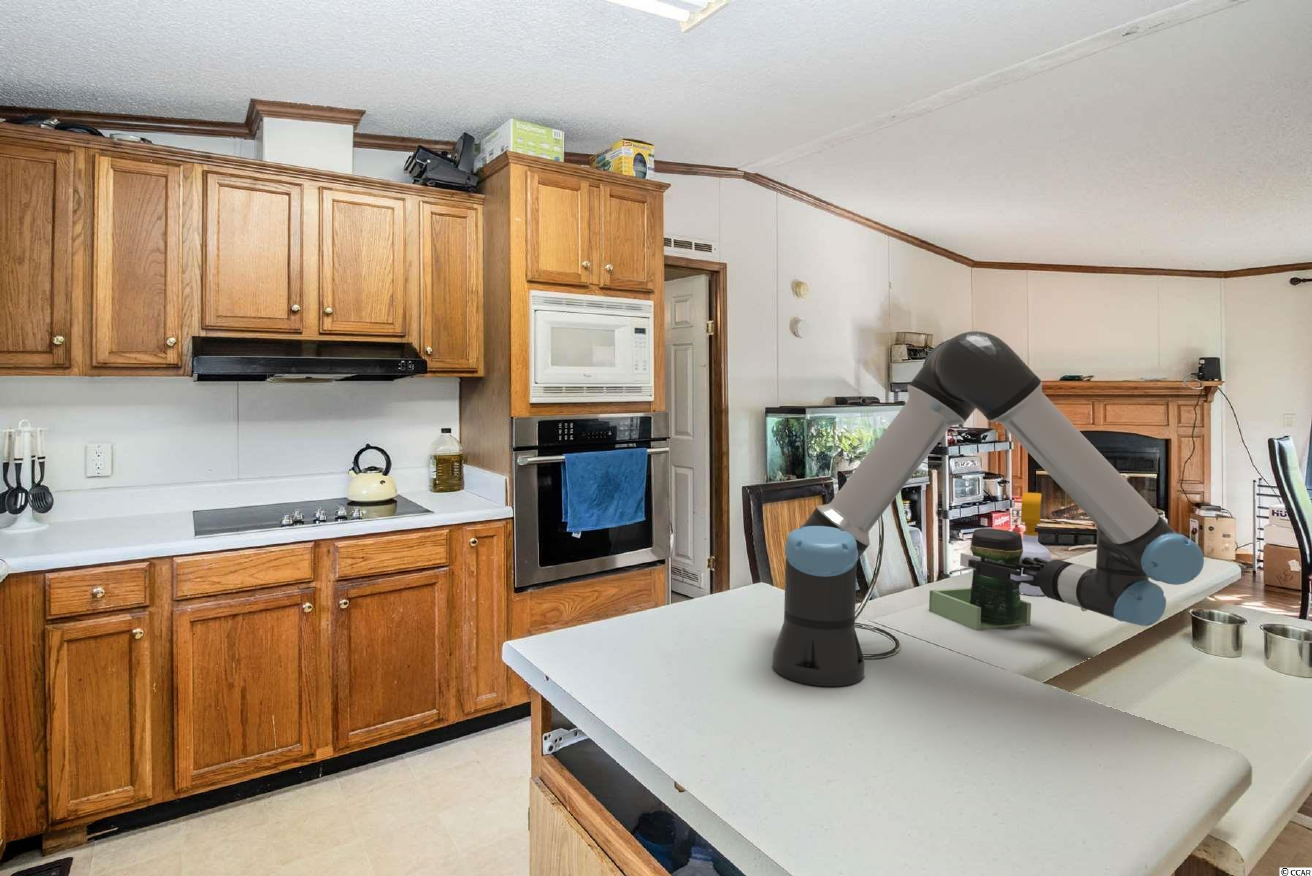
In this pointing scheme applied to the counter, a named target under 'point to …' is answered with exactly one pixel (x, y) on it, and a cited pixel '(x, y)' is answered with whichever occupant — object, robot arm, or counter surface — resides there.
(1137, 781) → the counter surface
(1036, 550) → the soap bottle
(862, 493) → the robot arm
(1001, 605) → the coffee jar
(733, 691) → the counter surface
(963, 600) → the green tray
